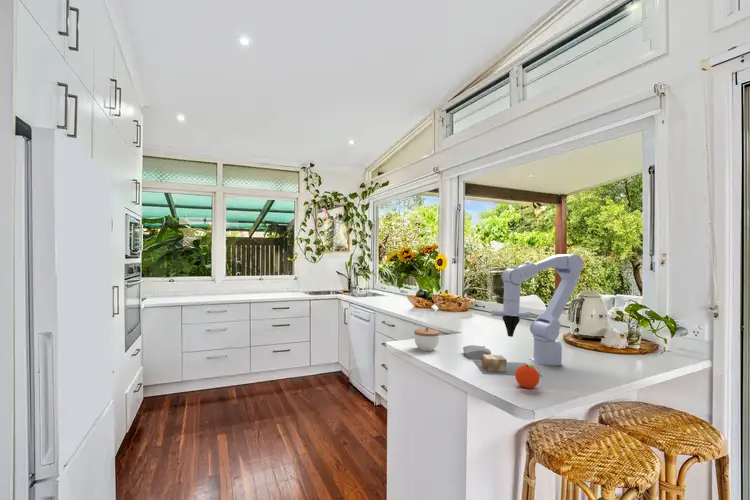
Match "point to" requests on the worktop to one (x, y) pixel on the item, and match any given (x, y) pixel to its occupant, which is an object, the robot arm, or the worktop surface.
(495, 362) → the maple block
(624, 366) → the worktop surface
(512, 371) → the slate mat
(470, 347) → the stone block
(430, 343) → the lidded jar
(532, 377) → the clementine
